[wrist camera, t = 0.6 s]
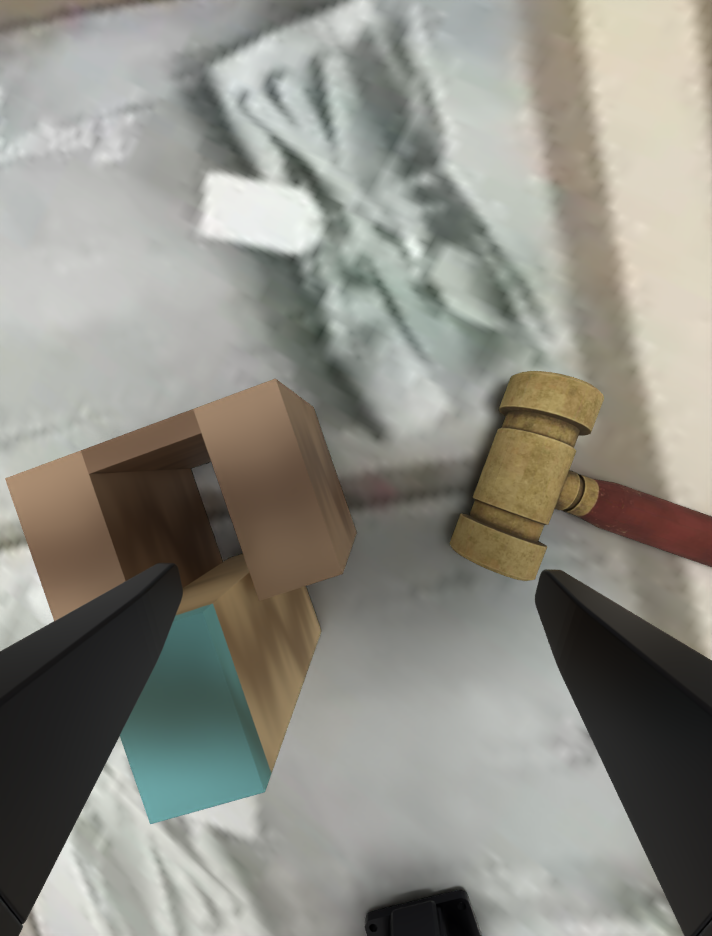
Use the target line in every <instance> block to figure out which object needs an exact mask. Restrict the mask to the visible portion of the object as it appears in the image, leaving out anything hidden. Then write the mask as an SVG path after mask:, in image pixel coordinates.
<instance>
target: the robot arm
mask: <svg viewBox="0 0 712 936" xmlns="http://www.w3.org/2000/svg"><path fill="white" fill-rule="evenodd" d="M182 596H183V587H182V583H181V578H180V574H179V569H178V566H177V565H176V564H175V563H157V564H155V565H154V566H152V567H150V568H148V569H147V570H145V571H143V572H141V573H139V574H138V575H136V576H134V577H132V578H130V579H129V580H127V581H125V582H123V583H122V584H120V585H118V586H116V587H114V588H113V589H111V590H109V591H107V592H106V593H104V594H102V595H100V596H98V597H97V598H95V599H93V600H91V601H89V602H88V603H86V604H84V605H82V606H81V607H79V608H77V609H75V610H73V611H72V612H70V613H68V614H66V615H64V616H63V617H61V618H59V619H57V620H56V621H54V622H52V623H50V624H48V625H47V626H45V627H43V628H41V629H39V630H38V631H36V632H34V633H32V634H31V635H29V636H27V637H25V638H23V639H22V640H20V641H18V642H16V643H14V644H13V645H11V646H9V647H7V648H6V649H4V650H2V651H0V936H19V934H20V932H21V930H22V928H23V925H22V924H23V923H25V921H26V920H27V918H28V916H29V914H30V912H31V910H32V908H33V906H34V904H35V902H36V900H37V898H38V896H39V894H40V892H41V890H42V888H43V886H44V884H45V882H46V880H47V878H48V876H49V874H50V872H51V870H52V868H53V866H54V864H55V862H56V860H57V858H58V856H59V854H60V852H61V850H62V849H63V847H64V845H65V843H66V841H67V839H68V837H69V835H70V833H71V831H72V829H73V827H74V825H75V823H76V821H77V819H78V817H79V815H80V813H81V811H82V809H83V807H84V805H85V803H86V801H87V799H88V797H89V795H90V793H91V791H92V789H93V787H94V785H95V783H96V781H97V779H98V778H99V776H100V774H101V772H102V770H103V768H104V766H105V764H106V762H107V760H108V758H109V756H110V754H111V752H112V750H113V748H114V746H115V744H116V742H117V740H118V738H119V736H120V734H121V732H122V730H123V728H124V726H125V724H126V722H127V720H128V718H129V716H130V714H131V712H132V710H133V708H134V707H135V705H136V703H137V701H138V699H139V697H140V695H141V693H142V691H143V689H144V687H145V685H146V683H147V681H148V679H149V677H150V675H151V673H152V671H153V669H154V667H155V665H156V663H157V661H158V659H159V656H160V654H161V652H162V649H163V647H164V644H165V642H166V639H167V636H168V634H169V631H170V629H171V626H172V623H173V621H174V618H175V616H176V613H177V610H178V608H179V605H180V603H181V600H182ZM535 604H536V608H537V610H538V613H539V616H540V619H541V622H542V625H543V627H544V630H545V633H546V636H547V639H548V642H549V644H550V647H551V650H552V653H553V656H554V658H555V661H556V664H557V666H558V668H559V671H560V673H561V675H562V677H563V679H564V682H565V684H566V686H567V688H568V690H569V692H570V694H571V696H572V699H573V701H574V703H575V705H576V707H577V709H578V711H579V713H580V715H581V718H582V720H583V722H584V724H585V726H586V728H587V730H588V732H589V735H590V737H591V739H592V741H593V743H594V745H595V747H596V749H597V752H598V754H599V756H600V758H601V760H602V762H603V764H604V766H605V768H606V771H607V773H608V775H609V777H610V779H611V781H612V783H613V785H614V788H615V790H616V792H617V794H618V796H619V798H620V800H621V802H622V804H623V807H624V809H625V811H626V813H627V815H628V817H629V819H630V821H631V824H632V826H633V828H634V830H635V832H636V834H637V836H638V838H639V840H640V843H641V845H642V847H643V849H644V851H645V853H646V855H647V857H648V860H649V862H650V864H651V866H652V868H653V870H654V872H655V874H656V876H657V879H658V881H659V883H660V885H661V887H662V889H663V891H664V893H665V896H666V898H667V900H668V902H669V904H670V906H671V908H672V910H673V913H674V915H675V917H676V919H677V921H678V923H679V925H680V927H681V929H682V932H683V934H684V936H712V660H710V659H708V658H707V657H705V656H703V655H702V654H700V653H698V652H697V651H695V650H693V649H692V648H690V647H688V646H687V645H685V644H683V643H682V642H680V641H678V640H677V639H675V638H673V637H672V636H670V635H668V634H667V633H665V632H663V631H662V630H660V629H658V628H657V627H655V626H653V625H652V624H650V623H648V622H647V621H645V620H643V619H642V618H640V617H638V616H637V615H635V614H633V613H632V612H630V611H628V610H627V609H625V608H623V607H622V606H620V605H618V604H617V603H615V602H613V601H612V600H610V599H608V598H607V597H605V596H603V595H602V594H600V593H598V592H597V591H595V590H593V589H592V588H590V587H588V586H587V585H585V584H583V583H582V582H580V581H578V580H577V579H575V578H573V577H572V576H570V575H568V574H567V573H565V572H563V571H561V570H543V571H542V572H541V575H540V578H539V582H538V586H537V590H536V594H535ZM365 930H366V933H367V936H482V935H481V932H480V929H479V926H478V923H477V920H476V917H475V914H474V911H473V909H472V906H471V903H470V900H469V897H468V895H467V893H466V892H464V891H462V890H457V891H453V892H449V893H445V894H441V895H437V896H433V897H429V898H425V899H421V900H417V901H413V902H409V903H405V904H401V905H397V906H393V907H389V908H385V909H380V910H376V911H372V912H370V913H368V914H367V915H366V918H365Z"/></svg>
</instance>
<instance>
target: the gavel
mask: <svg viewBox="0 0 712 936" xmlns="http://www.w3.org/2000/svg"><path fill="white" fill-rule="evenodd" d="M603 400H604V396H603V394H602V393H601V392H600V391H599V390H598V389H597V388H595V387H594V386H592V385H591V384H589V383H587V382H585V381H582V380H580V379H577V378H574V377H570V376H566V375H562V374H557V373H552V372H543V371H527V372H522V373H519V374H515V375H513V376H512V377H511V378H510V380H509V383H508V386H507V388H506V391H505V394H504V397H503V399H502V402H501V405H500V407H499V411H500V413H502V414H503V415H504V416H506V417H505V420H504V422H503V425H502V428H499V429H498V430H497V433H496V435H495V438H494V441H493V444H492V446H491V449H490V452H489V454H488V457H487V460H486V463H485V465H484V468H483V471H482V473H481V476H480V479H479V482H478V484H477V487H476V490H475V492H474V495H473V498H474V499H475V501H474V504H473V506H472V509H471V512H470V515H467V514H462V513H461V514H460V516H459V519H458V522H457V524H456V527H455V530H454V533H453V535H452V538H451V541H450V545H451V547H452V548H453V550H454V551H455V552H456V553H458V554H459V555H461V556H463V557H464V558H466V559H468V560H470V561H471V562H473V563H476V564H478V565H480V566H482V567H484V568H486V569H489V570H491V571H494V572H496V573H499V574H501V575H504V576H507V577H510V578H514V579H517V580H522V581H529V580H534V579H535V578H536V575H537V572H538V570H539V567H540V564H541V562H542V559H543V557H544V554H545V551H546V549H547V546H546V545H544V544H543V543H541V542H539V541H538V540H539V538H540V535H541V532H542V530H543V527H544V525H548V524H549V521H550V519H551V516H552V513H553V511H554V509H557V510H562V511H564V512H567V513H570V514H573V515H576V516H578V517H580V518H582V519H583V520H585V521H587V522H589V523H591V524H592V525H594V526H596V527H598V528H601V529H604V530H607V531H610V532H613V533H616V534H619V535H621V536H624V537H627V538H630V539H633V540H636V541H639V542H641V543H644V544H647V545H650V546H653V547H656V548H659V549H661V550H664V551H667V552H670V553H673V554H676V555H679V556H681V557H684V558H687V559H690V560H693V561H696V562H699V563H701V564H704V565H707V566H710V567H712V517H711V516H709V515H706V514H703V513H700V512H697V511H694V510H691V509H689V508H686V507H683V506H680V505H677V504H674V503H671V502H669V501H666V500H663V499H660V498H657V497H654V496H652V495H649V494H646V493H643V492H640V491H637V490H634V489H632V488H629V487H626V486H623V485H620V484H617V483H613V482H607V481H602V480H596V479H591V478H588V477H585V476H583V475H579V474H577V473H575V472H573V471H570V470H569V469H570V466H571V464H572V461H573V458H574V456H575V453H576V450H575V449H574V446H575V443H576V441H577V438H578V435H588V434H590V433H591V431H592V428H593V426H594V423H595V421H596V418H597V415H598V413H599V410H600V408H601V405H602V402H603Z"/></svg>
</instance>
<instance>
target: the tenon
mask: <svg viewBox="0 0 712 936" xmlns="http://www.w3.org/2000/svg"><path fill="white" fill-rule="evenodd" d="M320 634H321V629H320V626H319V623H318V620H317V617H316V614H315V611H314V608H313V605H312V603H311V600H310V597H309V594H308V591H307V588H306V586H304V587H301V588H298V589H295V590H292V591H288V592H285V593H282V594H279V595H276V596H273V597H270V598H267V599H264V600H260V601H259V599H258V596H257V593H256V590H255V587H254V584H253V581H252V578H251V575H250V572H249V569H248V567H247V564H246V561H245V558H244V555H243V554H240V555H237V556H234V557H231V558H228V559H227V560H225V561H224V562H222V563H221V564H219V565H218V566H216V567H215V568H213V569H212V570H210V571H208V572H207V573H205V574H204V575H202V576H201V577H199V578H198V579H196V580H195V581H193V582H192V583H190V584H188V585H187V586H185V587H184V588H183V596H182V600H181V603H180V605H179V608H178V610H177V613H176V616H175V618H174V621H173V623H172V626H171V629H170V631H169V634H168V636H167V639H166V642H165V644H164V647H163V649H162V652H161V654H160V656H159V659H158V661H157V663H156V665H155V667H154V669H153V671H152V673H151V675H150V677H149V679H148V681H147V683H146V685H145V687H144V689H143V691H142V693H141V695H140V697H139V699H138V701H137V703H136V705H135V707H134V708H133V710H132V712H131V714H130V716H129V718H128V720H127V722H126V724H125V726H124V728H123V730H122V732H121V734H120V738H121V741H122V744H123V746H124V749H125V752H126V755H127V758H128V761H129V764H130V767H131V770H132V772H133V775H134V778H135V781H136V784H137V787H138V790H139V793H140V796H141V799H142V801H143V804H144V807H145V810H146V813H147V816H148V819H149V822H150V824H153V823H156V822H160V821H164V820H167V819H171V818H174V817H178V816H181V815H185V814H189V813H192V812H196V811H199V810H203V809H206V808H210V807H214V806H217V805H221V804H224V803H228V802H231V801H235V800H239V799H242V798H246V797H249V796H253V795H256V794H260V793H264V792H265V790H266V788H267V785H268V782H269V779H270V776H271V773H272V770H273V768H274V765H275V762H276V759H277V756H278V753H279V751H280V748H281V745H282V742H283V739H284V736H285V733H286V731H287V728H288V725H289V722H290V719H291V716H292V714H293V711H294V708H295V705H296V702H297V699H298V696H299V694H300V691H301V688H302V685H303V682H304V679H305V677H306V674H307V671H308V668H309V665H310V662H311V660H312V657H313V654H314V651H315V648H316V645H317V642H318V640H319V637H320Z"/></svg>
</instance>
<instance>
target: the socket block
mask: <svg viewBox="0 0 712 936" xmlns="http://www.w3.org/2000/svg"><path fill="white" fill-rule="evenodd" d="M208 462H212V465H213V468H214V471H215V474H216V477H217V479H218V482H219V485H220V488H221V491H222V494H223V497H224V500H225V503H226V506H227V509H228V511H229V514H230V517H231V520H232V523H233V526H234V529H235V532H236V535H237V538H238V540H239V543H240V546H241V549H242V552H243V555H244V558H245V561H246V564H247V567H248V569H249V572H250V575H251V578H252V581H253V584H254V587H255V590H256V593H257V596H258V599H259V601H260V600H264V599H267V598H270V597H273V596H276V595H279V594H282V593H285V592H288V591H292V590H295V589H298V588H301V587H304V586H307V585H310V584H313V583H316V582H319V581H323V580H326V579H329V578H332V577H335V576H338V575H341V574H343V572H344V569H345V566H346V563H347V560H348V557H349V554H350V551H351V548H352V545H353V543H354V540H355V537H356V534H357V532H356V529H355V526H354V523H353V520H352V517H351V514H350V512H349V509H348V506H347V503H346V500H345V497H344V494H343V491H342V488H341V485H340V482H339V480H338V477H337V474H336V471H335V468H334V465H333V462H332V459H331V456H330V453H329V450H328V448H327V445H326V442H325V439H324V436H323V433H322V430H321V427H320V424H319V421H318V419H317V416H316V413H315V410H314V407H313V406H311V405H310V404H309V403H307V402H306V401H305V400H303V399H302V398H301V397H299V396H298V395H297V394H295V393H294V392H293V391H291V390H290V389H289V388H287V387H286V386H285V385H283V384H282V383H281V382H279V381H278V380H277V379H273V380H270V381H268V382H265V383H262V384H260V385H257V386H254V387H252V388H249V389H246V390H243V391H241V392H238V393H235V394H233V395H230V396H227V397H224V398H222V399H219V400H216V401H214V402H211V403H208V404H206V405H203V406H200V407H197V408H195V409H192V410H189V411H187V412H184V413H181V414H178V415H176V416H173V417H170V418H168V419H165V420H162V421H159V422H157V423H154V424H151V425H149V426H146V427H143V428H141V429H138V430H135V431H132V432H130V433H127V434H124V435H122V436H119V437H116V438H113V439H111V440H108V441H105V442H103V443H100V444H97V445H95V446H92V447H89V448H86V449H84V450H81V451H78V452H76V453H73V454H70V455H67V456H65V457H62V458H59V459H57V460H54V461H51V462H48V463H46V464H43V465H40V466H38V467H35V468H32V469H30V470H27V471H24V472H21V473H19V474H16V475H13V476H11V477H8V478H5V480H6V482H7V485H8V488H9V491H10V494H11V497H12V500H13V503H14V506H15V509H16V511H17V514H18V517H19V520H20V523H21V526H22V529H23V532H24V535H25V538H26V540H27V543H28V546H29V549H30V552H31V555H32V558H33V561H34V564H35V567H36V569H37V572H38V575H39V578H40V581H41V584H42V587H43V590H44V593H45V595H46V598H47V601H48V604H49V607H50V610H51V613H52V616H53V619H54V621H56V620H57V619H59V618H61V617H63V616H64V615H66V614H68V613H70V612H72V611H73V610H75V609H77V608H79V607H81V606H82V605H84V604H86V603H88V602H89V601H91V600H93V599H95V598H97V597H98V596H100V595H102V594H104V593H106V592H107V591H109V590H111V589H113V588H114V587H116V586H118V585H120V584H122V583H123V582H125V581H127V580H129V579H130V578H132V577H134V576H136V575H138V574H139V573H141V572H143V571H145V570H147V569H148V568H150V567H152V566H154V565H155V564H157V563H175V564H176V565H177V566H178V569H179V574H180V578H181V583H182V587H183V588H184V587H185V586H187V585H188V584H190V583H192V582H193V581H195V580H196V579H198V578H199V577H201V576H202V575H204V574H205V573H207V572H208V571H210V570H212V569H213V568H215V567H216V566H218V565H219V564H221V563H222V562H223V561H222V558H221V555H220V552H219V550H218V547H217V544H216V541H215V538H214V535H213V532H212V529H211V526H210V523H209V521H208V518H207V515H206V512H205V509H204V506H203V503H202V500H201V497H200V494H199V492H198V489H197V486H196V483H195V480H194V477H193V474H192V471H191V468H194V467H197V466H199V465H202V464H205V463H208Z"/></svg>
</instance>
